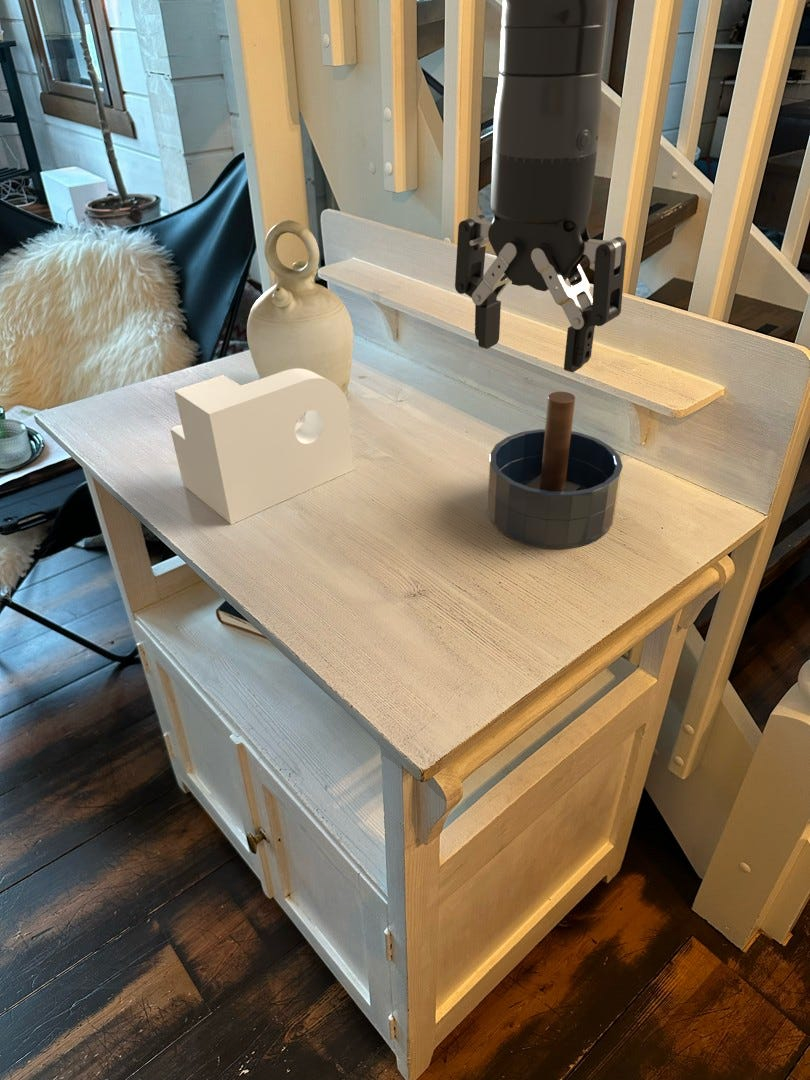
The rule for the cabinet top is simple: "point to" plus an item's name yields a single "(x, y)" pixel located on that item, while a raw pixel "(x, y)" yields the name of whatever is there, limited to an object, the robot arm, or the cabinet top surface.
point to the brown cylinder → (556, 445)
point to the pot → (552, 512)
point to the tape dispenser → (261, 439)
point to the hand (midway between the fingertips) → (529, 356)
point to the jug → (300, 318)
